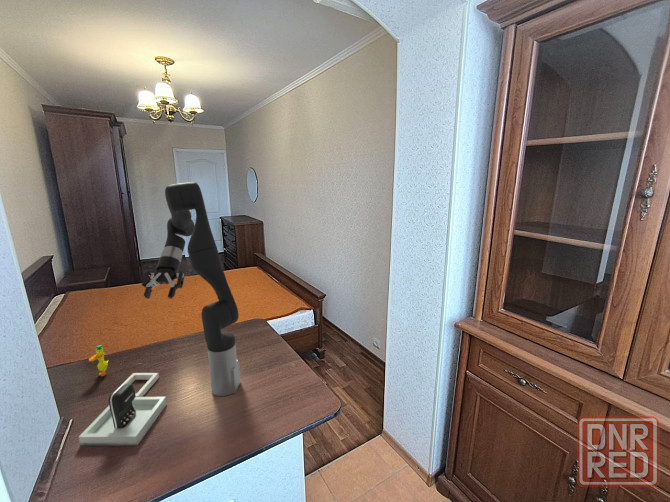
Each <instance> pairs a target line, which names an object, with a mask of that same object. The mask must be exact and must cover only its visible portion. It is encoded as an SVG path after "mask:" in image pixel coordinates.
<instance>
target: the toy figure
mask: <svg viewBox="0 0 670 502" xmlns="http://www.w3.org/2000/svg"><path fill="white" fill-rule="evenodd" d="M103 348H104V347H103V345H102V344H99V345H96V348H95V352H96V354H94V355H92V356H91V357H89V359H88V361H89V363H90V362H94V361H97V360H98V363H97V365H96V366H97V370H98V371H100V372H99V374H98V376H99V377H104V376H105V375H106V374H107V372H106V370H107V369H108V365H109V364H108V362H109V360H105V354H106V353H105V352H104V349H103Z"/></svg>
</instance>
